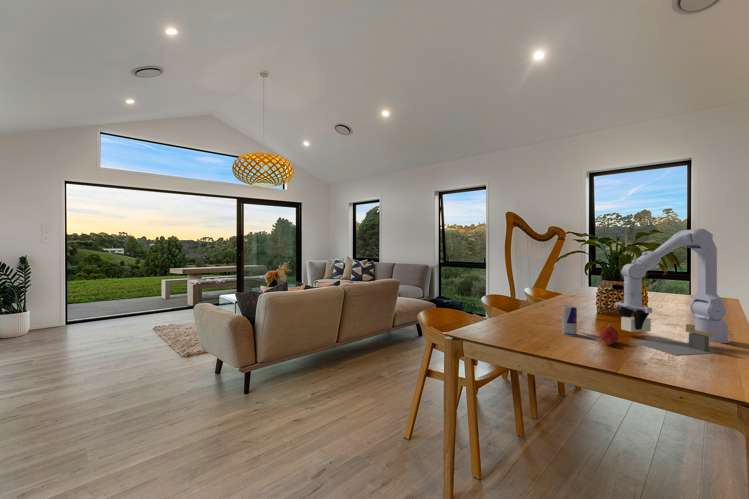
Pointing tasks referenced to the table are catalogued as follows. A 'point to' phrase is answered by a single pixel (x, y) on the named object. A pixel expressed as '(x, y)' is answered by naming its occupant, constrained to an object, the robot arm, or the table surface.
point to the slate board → (681, 345)
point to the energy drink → (569, 320)
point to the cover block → (629, 324)
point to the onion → (609, 335)
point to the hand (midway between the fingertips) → (632, 327)
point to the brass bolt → (697, 331)
